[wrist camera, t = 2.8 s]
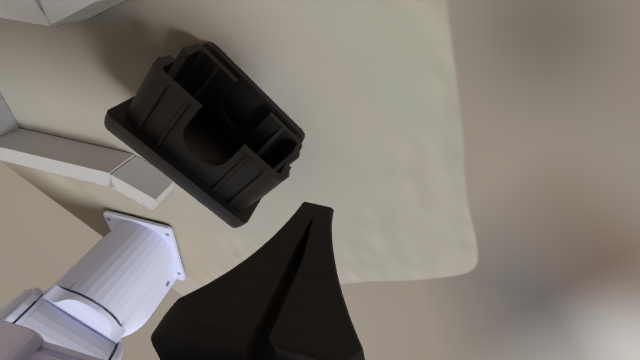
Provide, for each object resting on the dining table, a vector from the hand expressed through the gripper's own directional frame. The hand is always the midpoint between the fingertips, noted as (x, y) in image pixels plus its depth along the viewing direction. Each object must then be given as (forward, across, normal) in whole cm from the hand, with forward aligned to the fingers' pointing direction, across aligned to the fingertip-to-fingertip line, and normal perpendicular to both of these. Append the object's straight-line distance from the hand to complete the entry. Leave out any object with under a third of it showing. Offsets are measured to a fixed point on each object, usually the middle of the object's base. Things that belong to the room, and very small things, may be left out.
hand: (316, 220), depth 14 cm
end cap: (+10, +8, +1) cm, 13 cm away
